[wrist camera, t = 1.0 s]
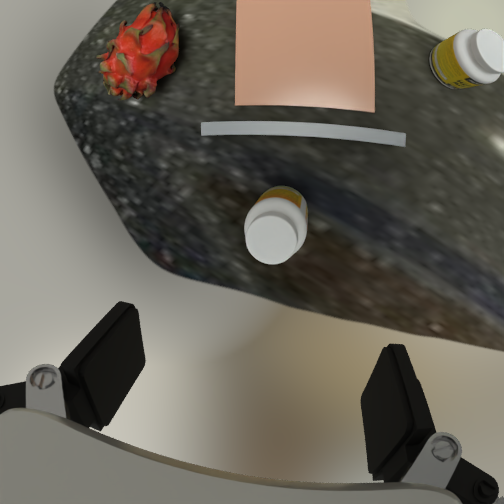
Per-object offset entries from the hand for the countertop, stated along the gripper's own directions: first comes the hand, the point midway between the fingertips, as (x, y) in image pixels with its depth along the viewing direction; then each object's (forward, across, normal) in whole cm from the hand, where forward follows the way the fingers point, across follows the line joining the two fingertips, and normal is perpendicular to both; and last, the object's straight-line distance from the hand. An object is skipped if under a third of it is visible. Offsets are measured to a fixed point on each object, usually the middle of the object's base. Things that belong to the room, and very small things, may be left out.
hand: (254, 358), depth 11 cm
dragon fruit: (+24, +16, -16) cm, 33 cm away
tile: (+23, 0, -18) cm, 29 cm away
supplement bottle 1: (+23, 0, 0) cm, 23 cm away
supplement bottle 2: (+22, -16, -19) cm, 34 cm away
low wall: (+23, -1, -8) cm, 24 cm away
